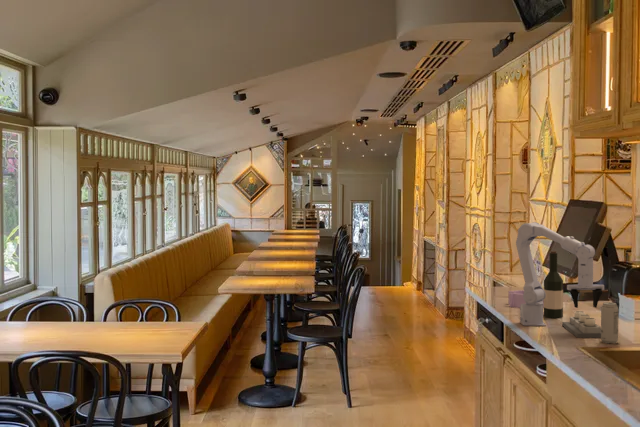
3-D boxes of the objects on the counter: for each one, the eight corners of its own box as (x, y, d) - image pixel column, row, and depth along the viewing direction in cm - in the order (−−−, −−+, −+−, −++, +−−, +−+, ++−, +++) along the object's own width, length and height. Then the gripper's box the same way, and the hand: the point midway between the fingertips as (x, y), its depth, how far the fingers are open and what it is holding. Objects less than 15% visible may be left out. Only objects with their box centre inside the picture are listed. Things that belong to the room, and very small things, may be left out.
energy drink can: (603, 339, 261) (603, 301, 260) (620, 341, 257) (620, 303, 257) (598, 342, 256) (599, 303, 256) (615, 344, 253) (615, 305, 252)
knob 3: (586, 326, 266) (586, 319, 266) (583, 323, 270) (583, 317, 270) (596, 326, 266) (596, 319, 266) (593, 323, 270) (593, 317, 270)
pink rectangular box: (549, 304, 336) (549, 290, 336) (552, 309, 324) (552, 295, 323) (507, 303, 340) (507, 290, 340) (509, 308, 328) (509, 294, 327)
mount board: (577, 337, 265) (577, 327, 265) (562, 325, 287) (562, 316, 286) (608, 337, 264) (608, 327, 264) (591, 325, 286) (591, 316, 285)
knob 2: (581, 322, 273) (581, 315, 273) (578, 320, 277) (578, 313, 277) (591, 322, 273) (591, 315, 273) (588, 320, 277) (588, 313, 277)
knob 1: (576, 318, 280) (576, 312, 280) (573, 316, 284) (573, 310, 284) (585, 318, 280) (585, 312, 280) (583, 316, 284) (583, 310, 284)
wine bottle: (564, 318, 301) (564, 252, 299) (545, 318, 302) (545, 252, 301) (561, 315, 309) (561, 250, 307) (542, 314, 310) (542, 250, 309)
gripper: (571, 276, 271) (570, 309, 272) (607, 275, 270) (607, 308, 271) (565, 273, 278) (565, 306, 279) (600, 273, 277) (600, 305, 278)
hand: (585, 307), depth 275 cm, fingers open, 7 cm apart
